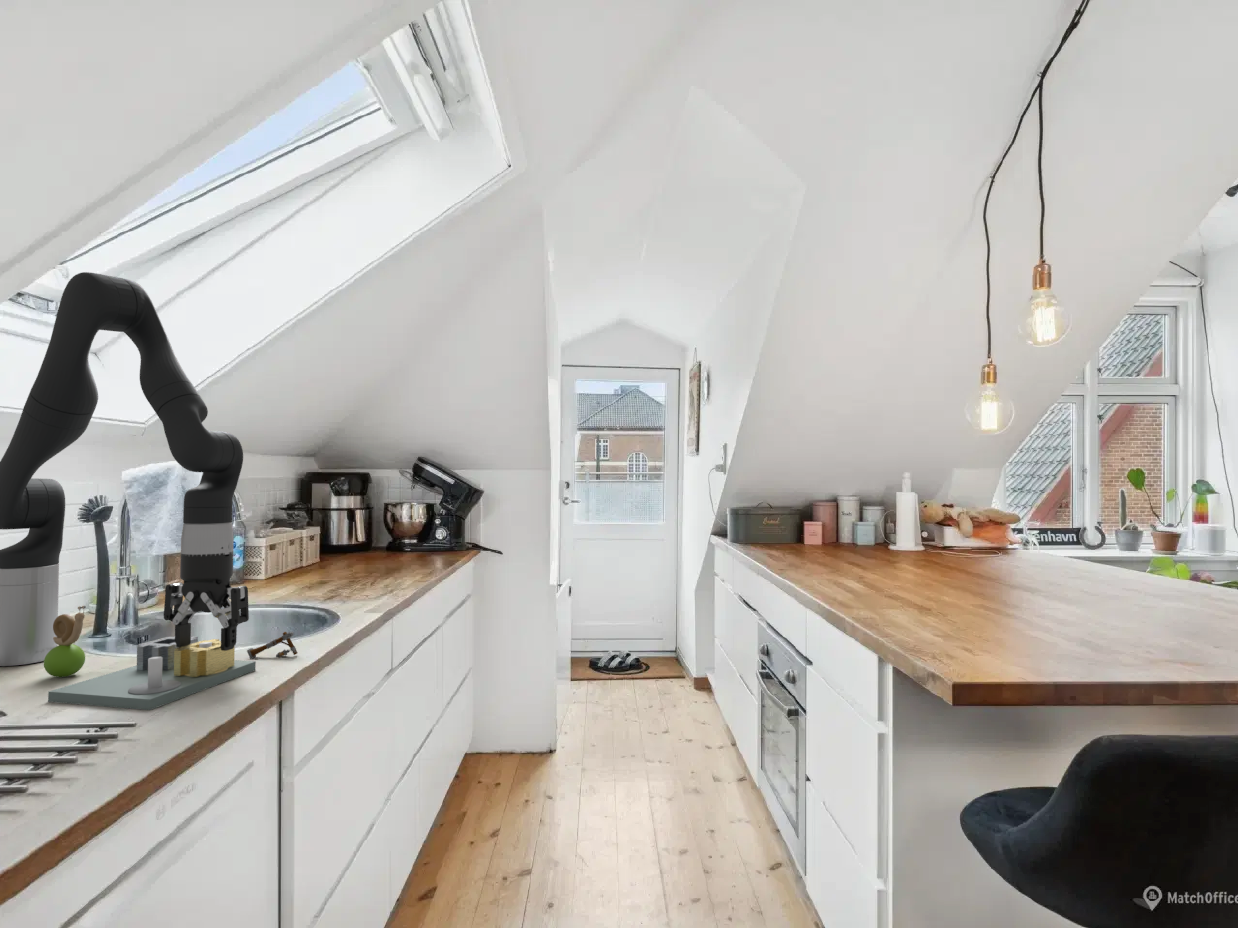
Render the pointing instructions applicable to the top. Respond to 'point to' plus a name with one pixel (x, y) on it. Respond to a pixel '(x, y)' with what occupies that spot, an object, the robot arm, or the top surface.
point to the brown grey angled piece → (285, 636)
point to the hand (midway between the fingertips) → (205, 647)
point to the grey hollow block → (158, 652)
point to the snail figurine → (66, 646)
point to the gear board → (144, 685)
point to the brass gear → (202, 659)
